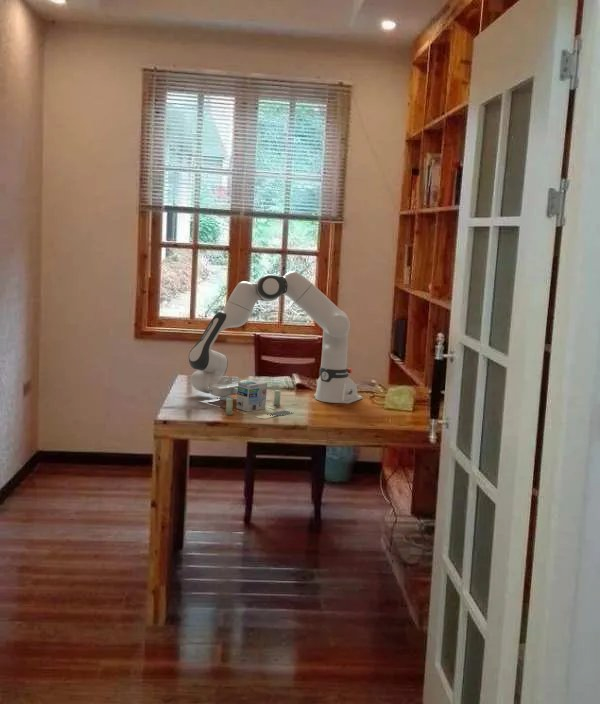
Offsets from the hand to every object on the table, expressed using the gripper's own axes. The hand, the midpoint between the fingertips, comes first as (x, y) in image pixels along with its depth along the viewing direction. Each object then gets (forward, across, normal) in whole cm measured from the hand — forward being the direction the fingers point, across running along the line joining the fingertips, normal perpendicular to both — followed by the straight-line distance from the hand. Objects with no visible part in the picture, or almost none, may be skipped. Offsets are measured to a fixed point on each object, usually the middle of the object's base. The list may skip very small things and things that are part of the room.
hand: (245, 392), depth 320 cm
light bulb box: (+3, 0, +6) cm, 7 cm away
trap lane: (0, 0, +6) cm, 6 cm away
